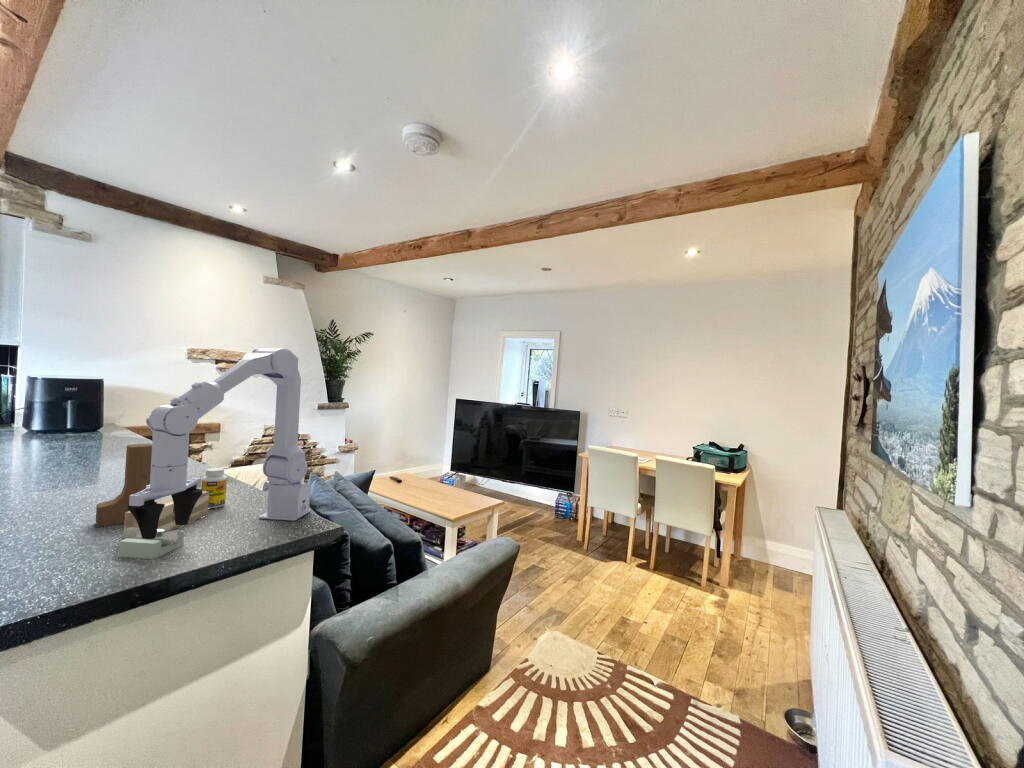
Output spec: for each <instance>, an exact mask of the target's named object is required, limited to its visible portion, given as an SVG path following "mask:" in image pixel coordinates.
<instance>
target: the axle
mask: <svg viewBox="0 0 1024 768" xmlns="http://www.w3.org/2000/svg"><path fill="white" fill-rule="evenodd" d="M181 531H182V530H180V531H179V530H178V529H175V530H164V529H157V534H156V537H155V538H154V539H146V540H161V541H162V544H163V545H177V544H178V543H179V542H180V541H181V539H182V532H181ZM126 538H132V539H142V536H141V532H140V529H139V528H135V527H129V528H127V529H126V530H125V531H124V530H123V533H122V535H121V540H124V539H126Z"/></svg>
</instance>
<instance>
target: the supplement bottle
mask: <svg viewBox="0 0 1024 768" xmlns="http://www.w3.org/2000/svg"><path fill="white" fill-rule="evenodd" d="M227 483H228V476H227V475H225V468H223V467H210V468H207V469H206V470H205V475H204V476H202V477H201V488H200V489H202V490H203V491H209V500H208V508H215V509H217V508H216V507H220V506H222V507H224V506H225V505H226V499H227V497H226V496H227ZM223 505H224V506H223ZM220 508H221V507H220Z"/></svg>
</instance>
